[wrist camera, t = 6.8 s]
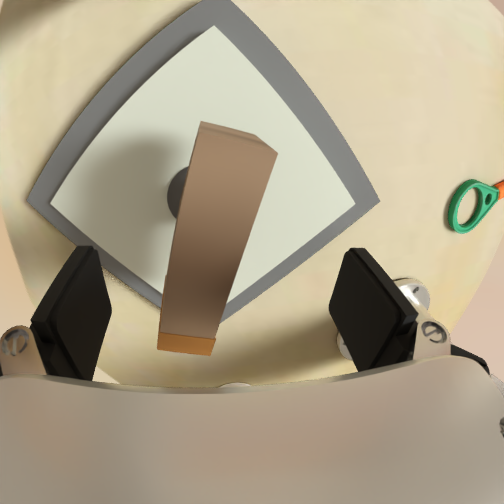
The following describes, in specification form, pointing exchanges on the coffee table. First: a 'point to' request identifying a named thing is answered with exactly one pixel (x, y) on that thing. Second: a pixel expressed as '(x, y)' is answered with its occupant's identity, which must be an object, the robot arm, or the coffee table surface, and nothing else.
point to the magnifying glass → (482, 208)
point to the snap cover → (180, 149)
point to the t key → (211, 234)
